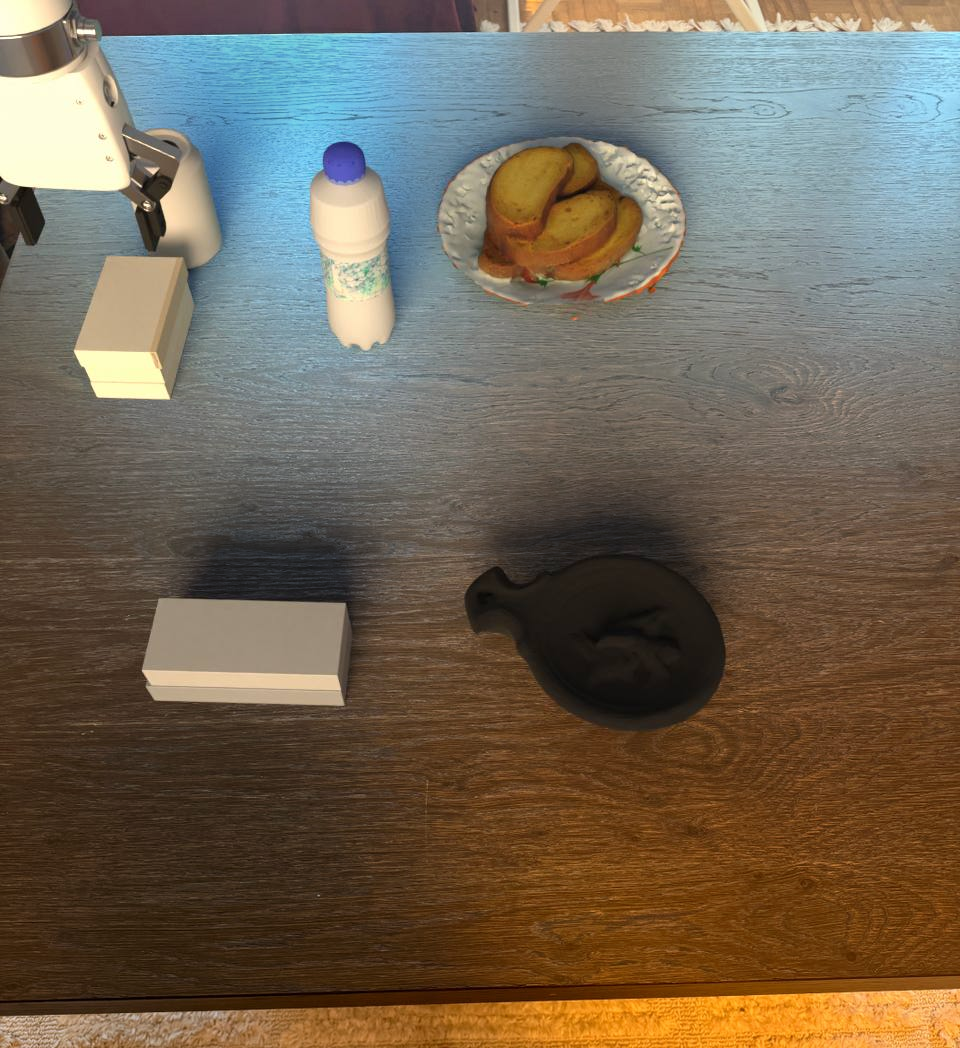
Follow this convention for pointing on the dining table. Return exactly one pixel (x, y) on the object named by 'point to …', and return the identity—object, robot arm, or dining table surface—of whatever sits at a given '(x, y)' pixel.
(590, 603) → the oil lamp
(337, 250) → the bottle
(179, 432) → the dining table surface
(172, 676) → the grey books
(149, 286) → the cream flat block
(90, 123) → the robot arm
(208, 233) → the can
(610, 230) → the food on plate
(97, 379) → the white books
